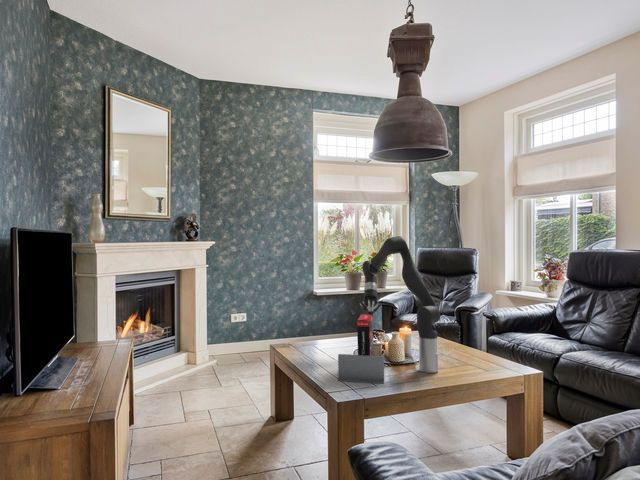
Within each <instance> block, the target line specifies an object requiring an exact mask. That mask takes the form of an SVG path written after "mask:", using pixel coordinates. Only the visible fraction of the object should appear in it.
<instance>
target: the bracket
mask: <svg viewBox="0 0 640 480" xmlns="http://www.w3.org/2000/svg"><path fill="white" fill-rule="evenodd" d="M337 355H338V357H337V364H338V367H337V368H338V370H337V372H338V373H337V376H338V378H337V381H336V382H344V383H345V382H346V383H362V384H377V385H378V384H379V385H385V356H384V355H373V356H372V355H358V354H349V353H348V354H347V353H338V354H337Z"/></svg>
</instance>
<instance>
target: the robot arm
mask: <svg viewBox="0 0 640 480" xmlns="http://www.w3.org/2000/svg"><path fill="white" fill-rule="evenodd" d="M395 254H400V257H401V259H402V269H401V277H402V279H403V282H404V284H405V286H406V288H407V290H409V291H410V292H411V293H412V294H413V295H414V296H415V297H416V298H417V300H418V301H419V302H420V303H421V304H420V305H422V306H421V307H418V309H417V311H416V327H417V329H416V330H417V332H418V351H419V353H418V354H419V355H418V359H419V360H418V362H419V363H418V364H419V365H418V369H419V372H422V373H427V374H428V373H429V374H433V373H439V356H438V355H439V353H438V348H439V347H438V331H436V330H434V329H433V324H436V323H438V322H439V321H440V320H441V318H442V317H441V311H440V309H439V307H438V305H437V304H436V302H435V300H434V299H433V297H432V296H431V294H430V291H429V290H428V288H427V286H426V284H425V282H424V279H423V277H422V275H421V274H420V271H419V269H418V268H417V266H416V264H415V261H414V259H413V257H412V254H411V251H410V248H409V245H408V243H407V241H406V239H405V238H404V237H403V236H400V235H399V236H392V237H389V238H387V239H386V240H385V241H383V244H382V246H381V248H380V249H379V250H378V252H377V253H376V254H375V255H374V256H373V257H372V258H371V259H370V260H364V262H363V264H362V266H361V267H362V272H363V275H364V289H363V291H364V292H363V293H364V294H363V295H364V296H363V300H362V301H360V302H359V305H360V308H362V310H363V311H364V312H365V313H367V315H372V318H374V314H375V313H377V311H378V310H379V309H380V308H381V306H382V303H379V300H378V278H377V276H376V275H377V274H379V272H380V269H381V268H382V266H383V265H385V263H386V262H387V261H388V256H391V255H395ZM375 307H376V308H375Z"/></svg>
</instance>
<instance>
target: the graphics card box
mask: <svg viewBox="0 0 640 480" xmlns="http://www.w3.org/2000/svg"><path fill="white" fill-rule="evenodd" d="M356 328H357V330H356V332H357V336H356V337H357V355H372V356H374V334H373V333H374V331H373V330H374V327H373V317H372V315H368V314H360V315H359V318H357V319H356Z"/></svg>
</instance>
